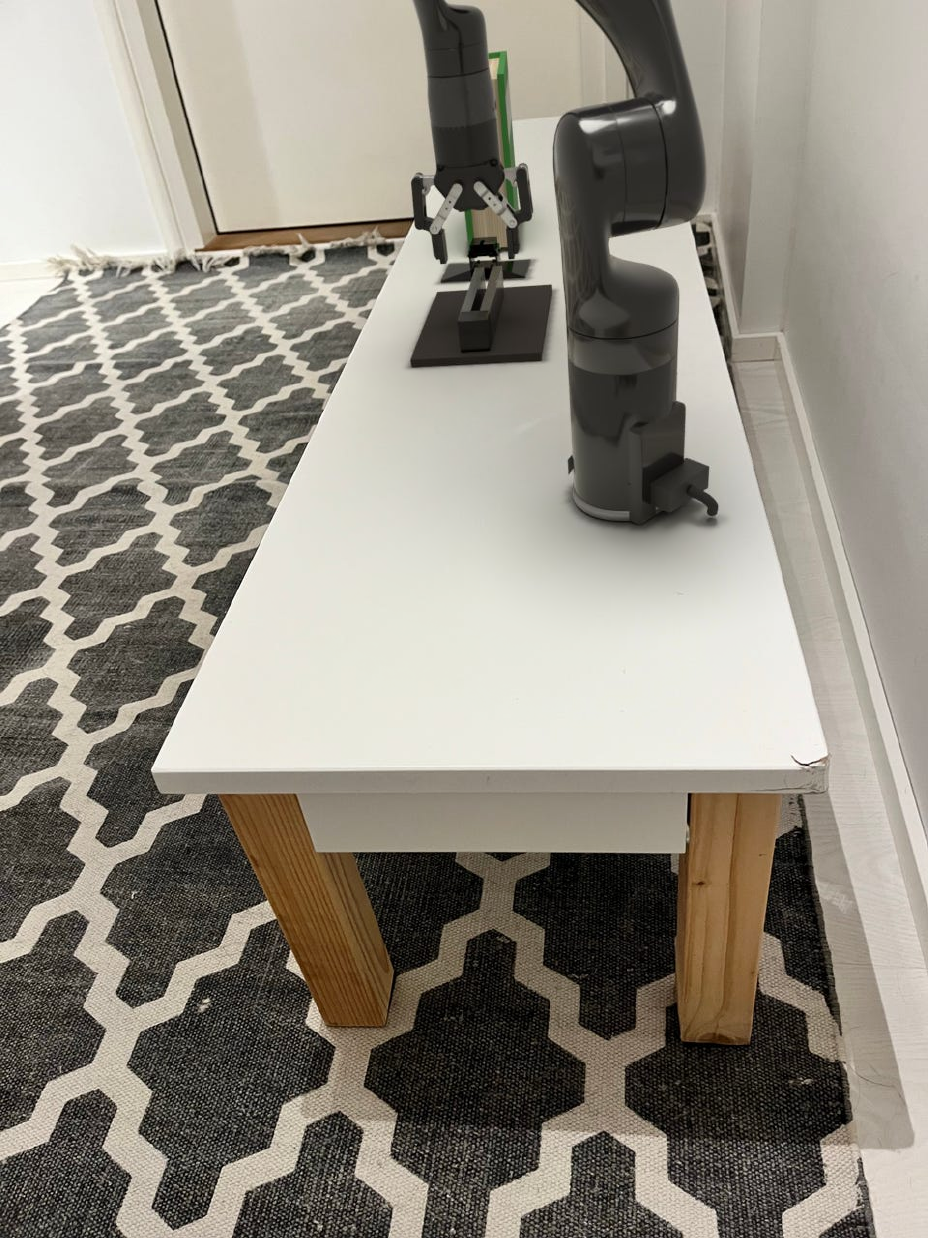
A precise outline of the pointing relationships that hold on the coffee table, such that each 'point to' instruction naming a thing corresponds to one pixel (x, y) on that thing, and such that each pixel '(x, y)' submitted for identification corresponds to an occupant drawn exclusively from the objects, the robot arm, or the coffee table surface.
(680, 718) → the coffee table surface
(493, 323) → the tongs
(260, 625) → the coffee table surface
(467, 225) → the hardback book
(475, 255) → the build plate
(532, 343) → the mat
